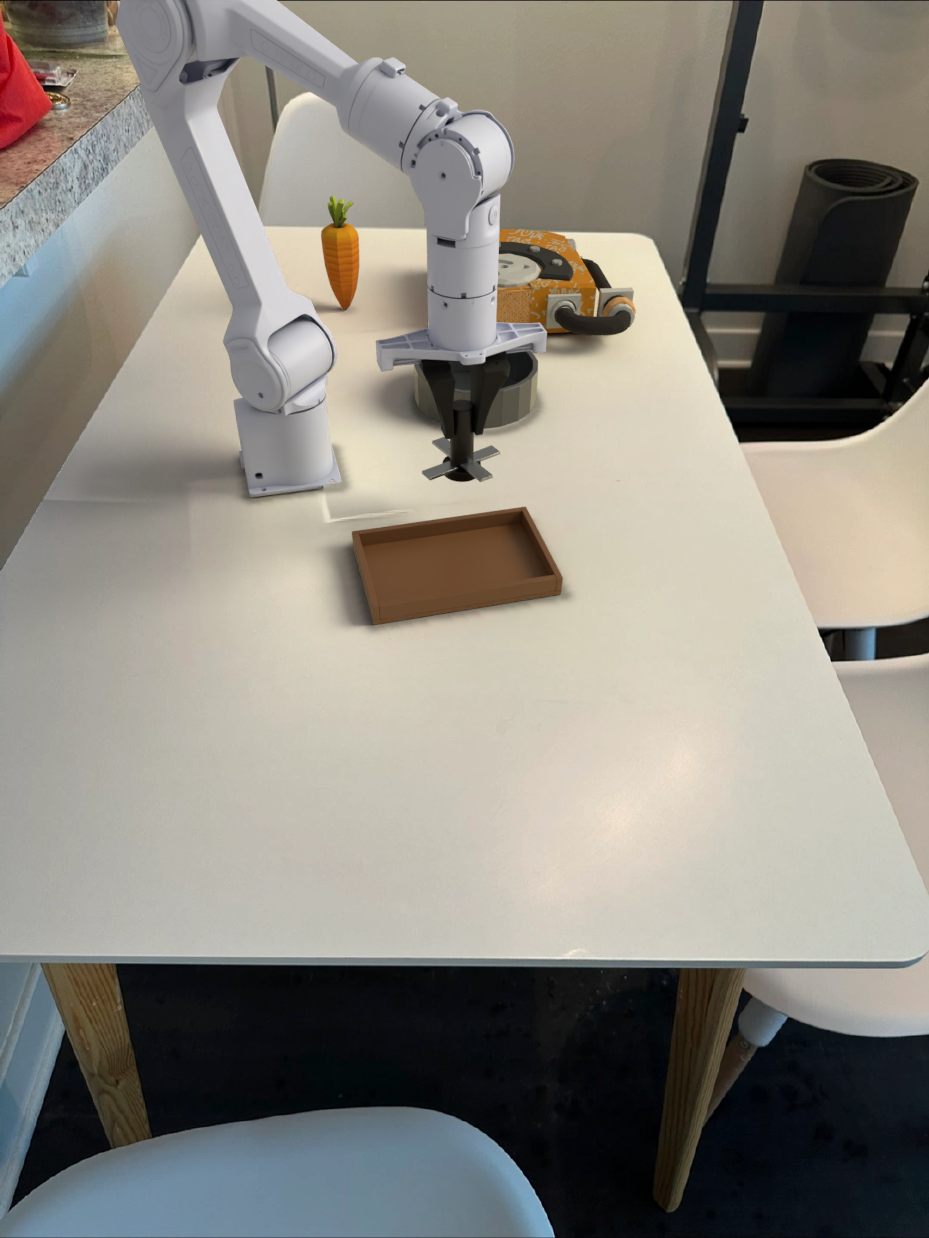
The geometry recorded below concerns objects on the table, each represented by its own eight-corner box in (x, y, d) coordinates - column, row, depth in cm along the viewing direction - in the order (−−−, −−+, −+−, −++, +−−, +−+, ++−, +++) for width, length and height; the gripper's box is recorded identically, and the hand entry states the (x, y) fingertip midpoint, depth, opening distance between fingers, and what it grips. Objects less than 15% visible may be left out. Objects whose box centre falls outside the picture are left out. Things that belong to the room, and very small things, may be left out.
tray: (373, 625, 79) (372, 607, 78) (353, 547, 87) (351, 531, 86) (561, 594, 83) (563, 577, 81) (524, 522, 91) (525, 506, 89)
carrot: (330, 301, 129) (320, 189, 119) (365, 302, 129) (358, 190, 119) (325, 316, 125) (314, 202, 115) (361, 317, 125) (353, 203, 115)
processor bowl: (430, 440, 102) (429, 399, 98) (404, 380, 112) (403, 342, 109) (551, 424, 105) (554, 385, 101) (515, 368, 115) (517, 330, 111)
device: (594, 212, 133) (649, 295, 111) (588, 268, 139) (640, 359, 117) (439, 216, 131) (465, 303, 109) (440, 274, 136) (464, 367, 114)
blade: (430, 501, 83) (428, 433, 78) (411, 455, 88) (408, 389, 84) (514, 489, 84) (518, 421, 79) (490, 444, 90) (492, 379, 85)
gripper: (384, 314, 70) (392, 465, 79) (563, 295, 73) (551, 443, 82) (367, 278, 75) (376, 424, 84) (535, 262, 78) (527, 405, 87)
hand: (461, 431), depth 83 cm, fingers closed on blade, 2 cm apart
